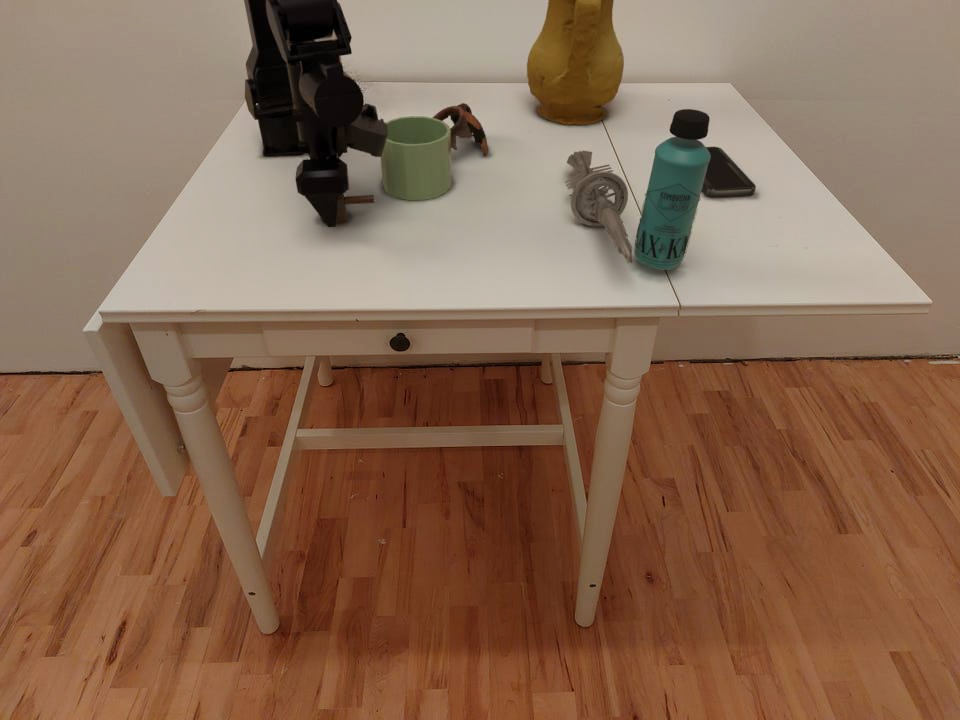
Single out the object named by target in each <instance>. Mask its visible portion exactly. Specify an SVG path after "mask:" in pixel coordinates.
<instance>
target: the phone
mask: <svg viewBox="0 0 960 720" xmlns="http://www.w3.org/2000/svg"><path fill="white" fill-rule="evenodd" d="M705 147H706V148H707V149H708V151H709V153H710V155H711V159H710V162H709V164H708V167H707V171H706V175H705V179H704V183H703V186H702V190H701V192H702V193H703V194H704V196H707V197H709V198H729V197H730V198H731V197H750V196H753V195H754V194H755V191H756V189H757V185H756V184H755V183H754V181H752V179H751V178H749V176H748V175H746V173H745V172H744V171H743V170H742V169H741V168H740V167H739V166H738V165H737V164H736V163H735V162H734V160H733V159H732V158H731V157H730V156H729V155H728V154H727V153H726V152H725V150H723V149H722V148H721V147H719V146H705Z"/></svg>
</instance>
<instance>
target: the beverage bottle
mask: <svg viewBox="0 0 960 720" xmlns="http://www.w3.org/2000/svg"><path fill="white" fill-rule="evenodd" d="M710 120H711V118H710V116H709V114H708V113H706V112H704V111H702V110H698V109H694V108H683V109H679V110H677V111H675V112H674V114H673V116H672V121H671V123H670V125H669V133H670V134H671V135H673V136H672V137H670V138H666V139H665V140H663V141H662V142H661V143H659V144H658V145H657V146H656V147H655V149H654V157H653V162H652V166H651V171H650V176H649V179H648V180H649V181H648V185H647V189H646V193H645V197H644V201H643V202H642V205H641V213H640V215H639V217H640V218H639V222H638V225H637V229H636V230H637V231H636V235H635V240H634V244H633V245H634V249H633V252H634V257H635V259H636V261H638V262H639V263H640V264H642V265H643V266H645V267H648V268H651V269H655V270H671V269H675V268H676V267H679V265H681V263H682V262H683V261H684V259H685V258H686V257H685V256H686V253H687V251H688V247H689V244H690V242H689V241H691V236H692V233H693V231H692V230H693V226H694V225H695V220H696V218H697V217H696V216H697V215H698V214H697V213H698V210H699V209H698V206H699V202H700V201H701V200H702V199H701V194H702V186H703V183H704V179H705V175H706V171H707V167H708V164H709V162H710V159H711V155H710V153H709V151H708V149H707V148H706V147H707V146H705V144H704V143H703V142H702V141H700V140H703V139H704V138H707V136H708V133H709V125H710Z"/></svg>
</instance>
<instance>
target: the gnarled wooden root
mask: <svg viewBox="0 0 960 720" xmlns="http://www.w3.org/2000/svg"><path fill="white" fill-rule="evenodd" d="M449 117H450V121H451V122H452V123H453V125H452V126H451V127H450V131H451V149H453V150H458V148H457V137H458V138H460V139H471V138H473V140H474V144H475V145H480V147H481V150H482V154H483V156H484V157H487V156H488V154H489V145H488V139H487V135H486V134H485V133H486V132H485V130H484V127H483V126H482V124H481V122H480V120H479V119H478V118H477V117H476V116H475V115H474V114H473V112H472V108H471V107H470V106H469V104H467V103H464V102H462V103H460V104H458V105H451V106H448V107H447V106H446V107H445V108H443V109H441V110H439V111H438V112H437V113H436V114H434V115H433V117H432V118H435V119H438V120H441V121H443V122H444V120H446V119H448V118H449Z"/></svg>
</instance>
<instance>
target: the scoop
mask: <svg viewBox="0 0 960 720" xmlns="http://www.w3.org/2000/svg"><path fill="white" fill-rule="evenodd" d="M361 204H375V195H374V194H363V195H361V194H360V195H347V196H346V195H345V193H344V194H341V195H340V196H339V197H338V207H337V221H336V226H338V225H342V224H343V223H345V222H346V221H347V220H348V210H347V205H361ZM319 219H320V220H319V221H320V222H321V223H322V224H324V225H326V224H325V222H324V221H323V220H322V218H321V217H320V216H319Z"/></svg>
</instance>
